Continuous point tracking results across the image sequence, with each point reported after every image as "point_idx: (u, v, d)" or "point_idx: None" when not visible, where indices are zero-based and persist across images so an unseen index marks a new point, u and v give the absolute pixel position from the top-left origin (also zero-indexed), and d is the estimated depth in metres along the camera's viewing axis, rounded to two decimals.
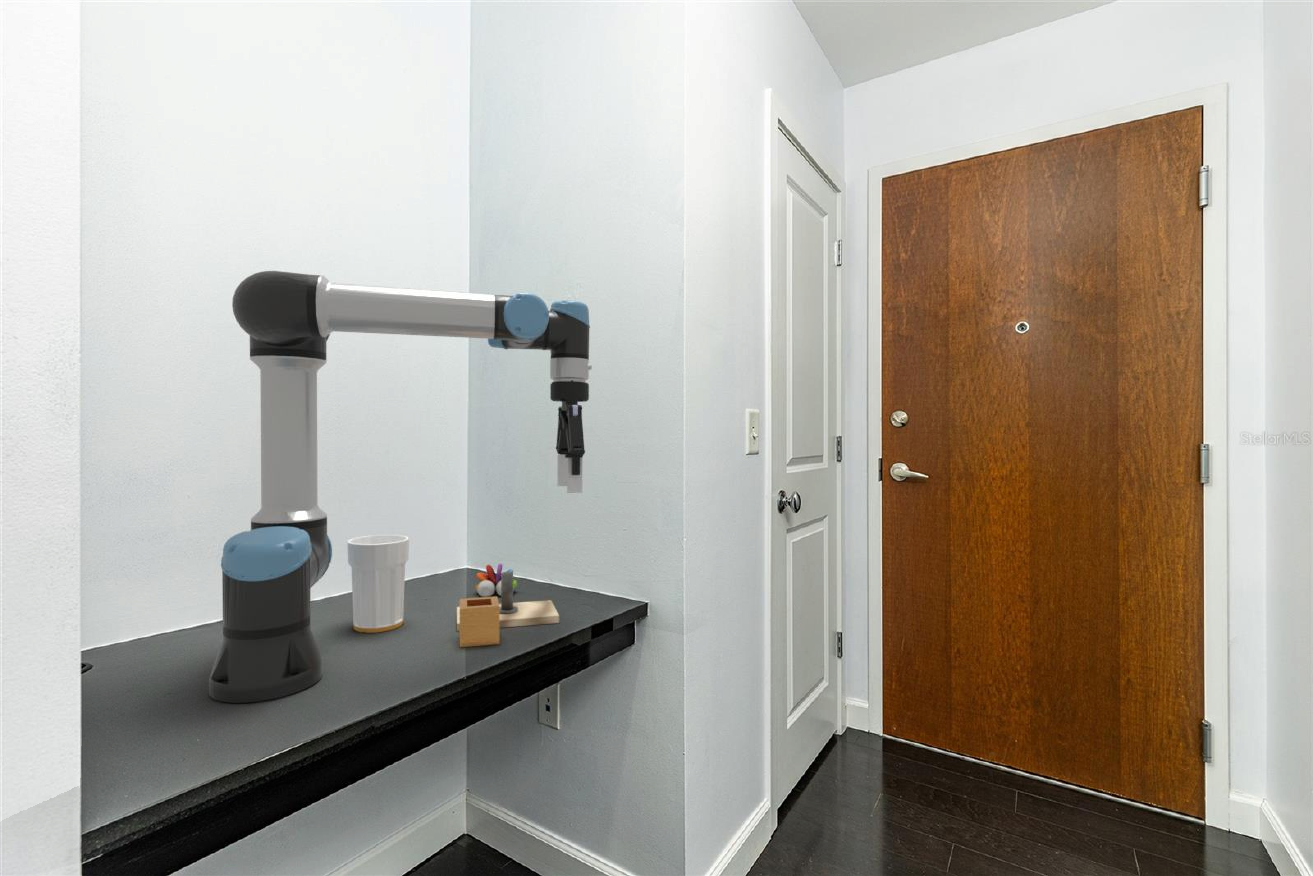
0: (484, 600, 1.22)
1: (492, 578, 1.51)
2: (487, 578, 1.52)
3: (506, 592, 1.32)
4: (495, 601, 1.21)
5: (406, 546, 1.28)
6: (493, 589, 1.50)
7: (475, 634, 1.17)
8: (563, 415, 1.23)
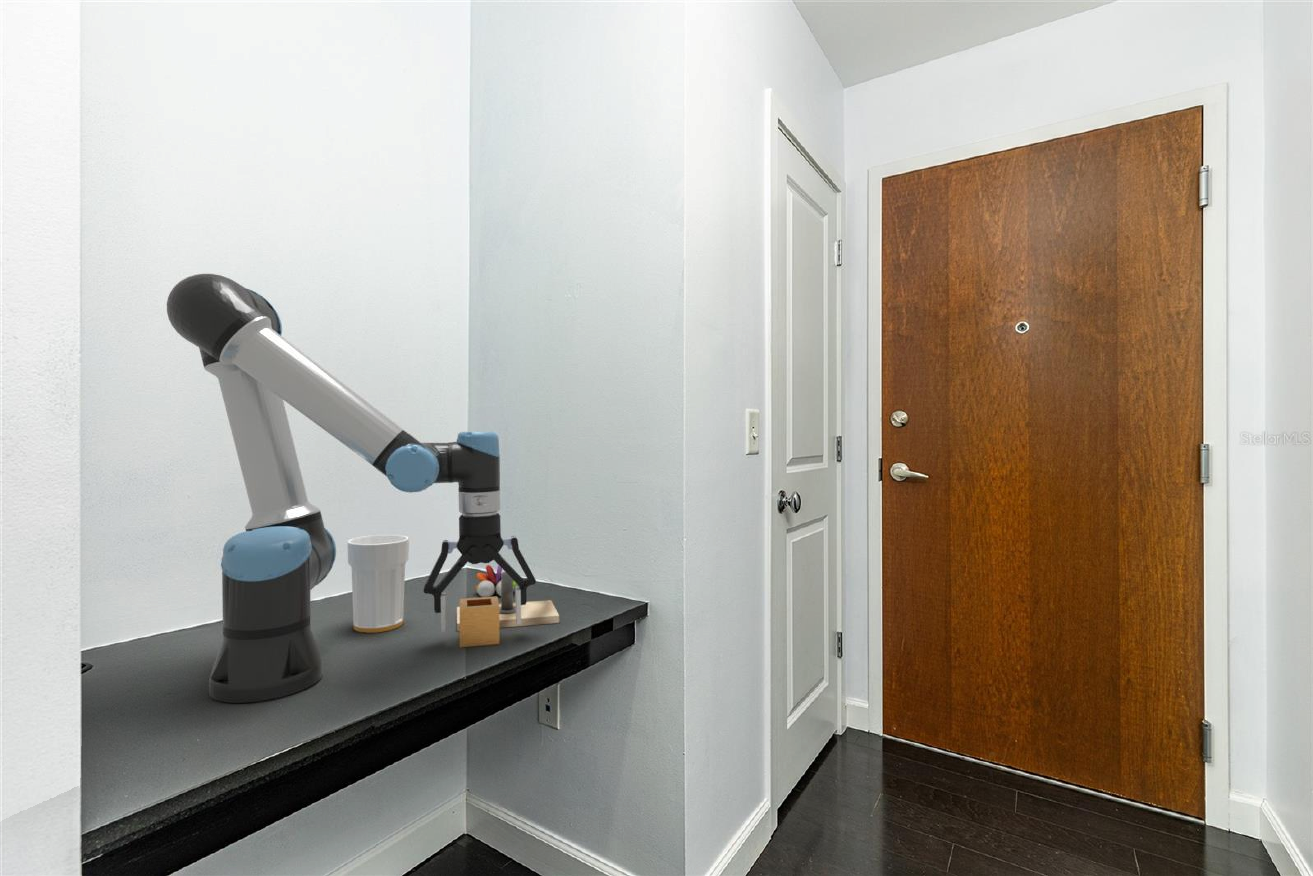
0: (484, 600, 1.22)
1: (492, 578, 1.50)
2: (487, 578, 1.51)
3: (506, 592, 1.32)
4: (495, 601, 1.21)
5: (406, 546, 1.28)
6: (493, 589, 1.49)
7: (475, 634, 1.17)
8: None
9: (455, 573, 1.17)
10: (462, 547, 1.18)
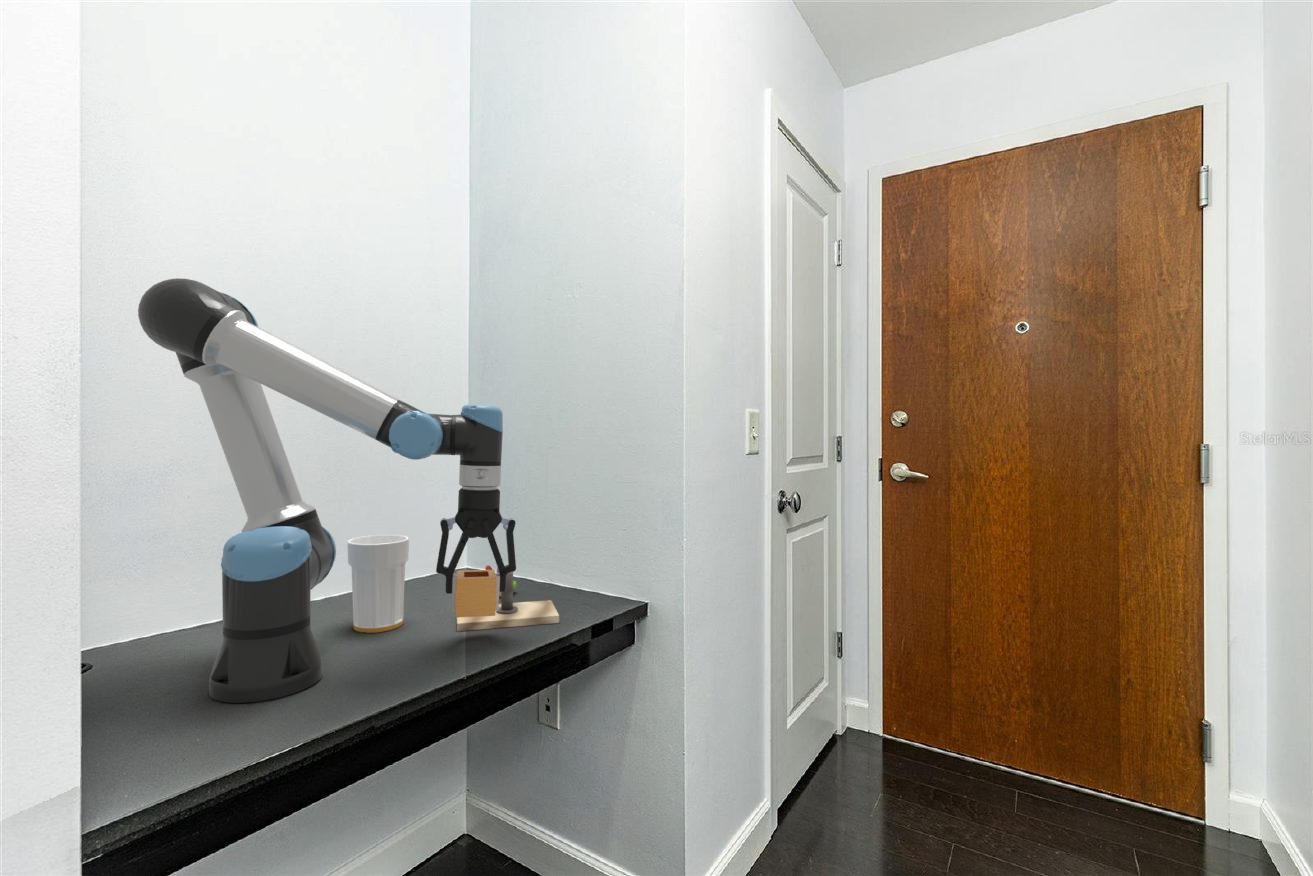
0: (481, 573, 1.22)
1: None
2: None
3: (506, 592, 1.32)
4: (492, 573, 1.21)
5: (406, 546, 1.28)
6: None
7: (471, 605, 1.16)
8: None
9: (461, 550, 1.18)
10: (461, 520, 1.18)
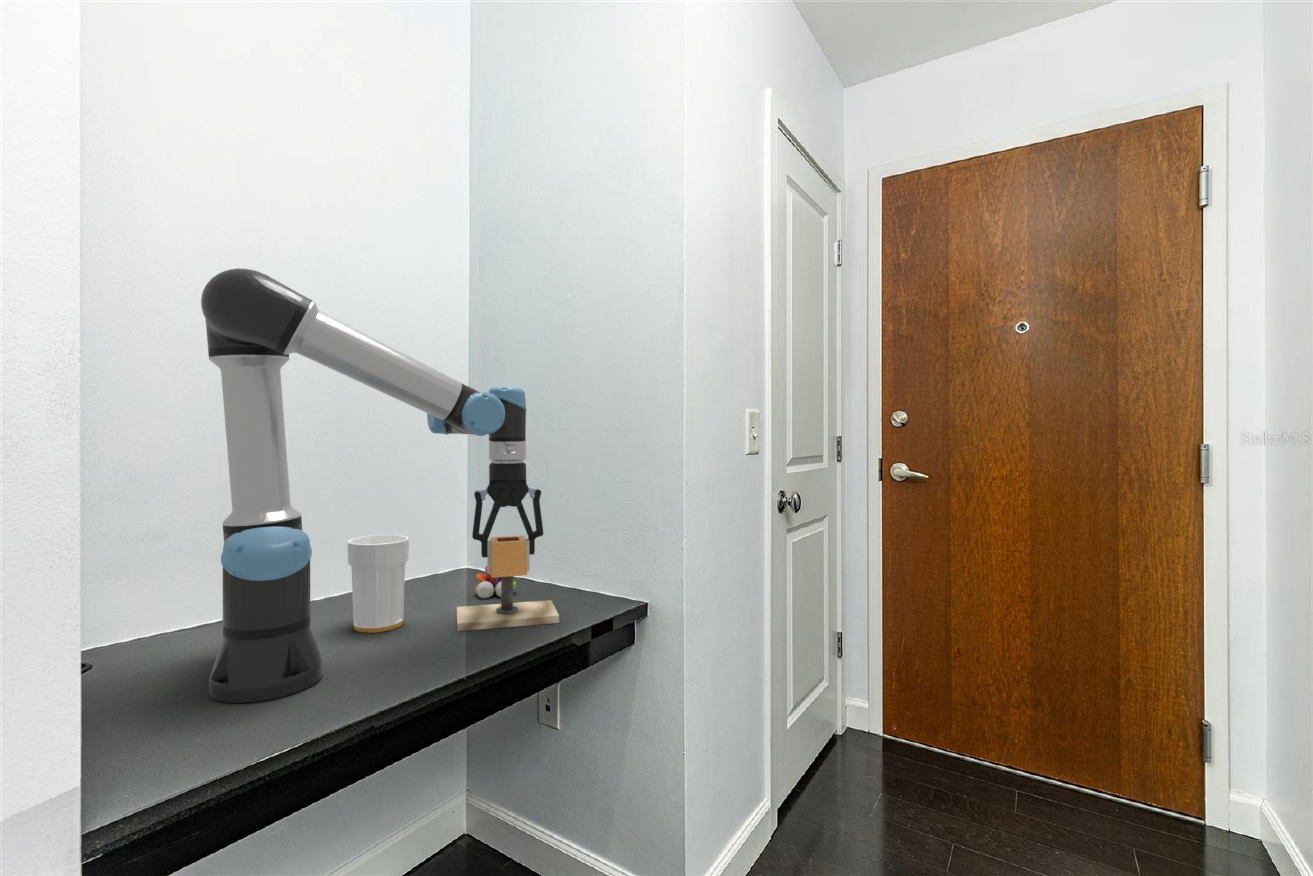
0: (512, 538, 1.36)
1: (491, 579, 1.50)
2: (486, 579, 1.51)
3: (506, 592, 1.32)
4: (522, 538, 1.34)
5: (406, 546, 1.28)
6: (492, 590, 1.49)
7: (505, 566, 1.30)
8: None
9: (494, 518, 1.31)
10: (492, 491, 1.31)
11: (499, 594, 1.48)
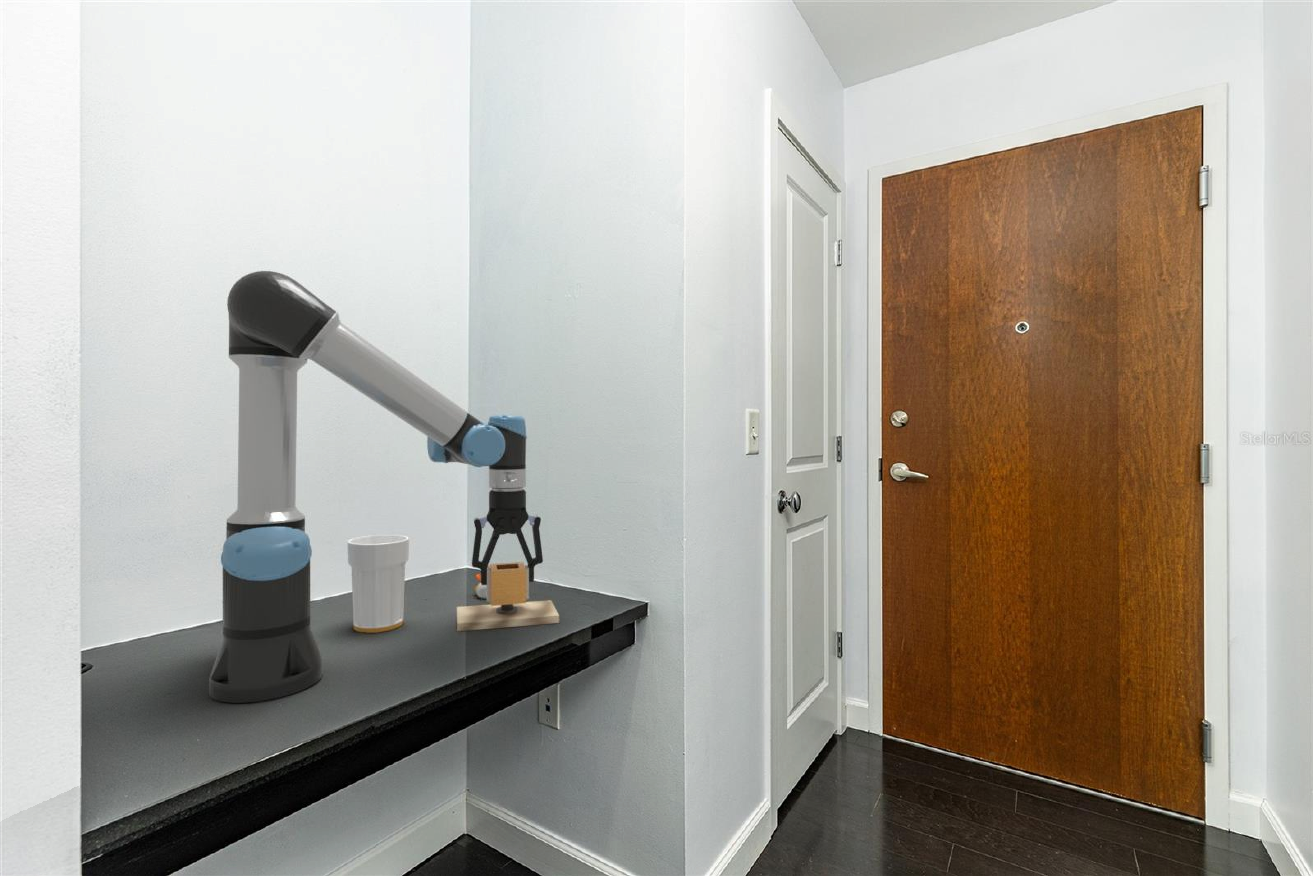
0: (511, 565, 1.36)
1: None
2: None
3: None
4: (522, 565, 1.34)
5: (406, 546, 1.28)
6: None
7: (505, 594, 1.30)
8: None
9: (493, 546, 1.31)
10: (492, 519, 1.31)
11: None
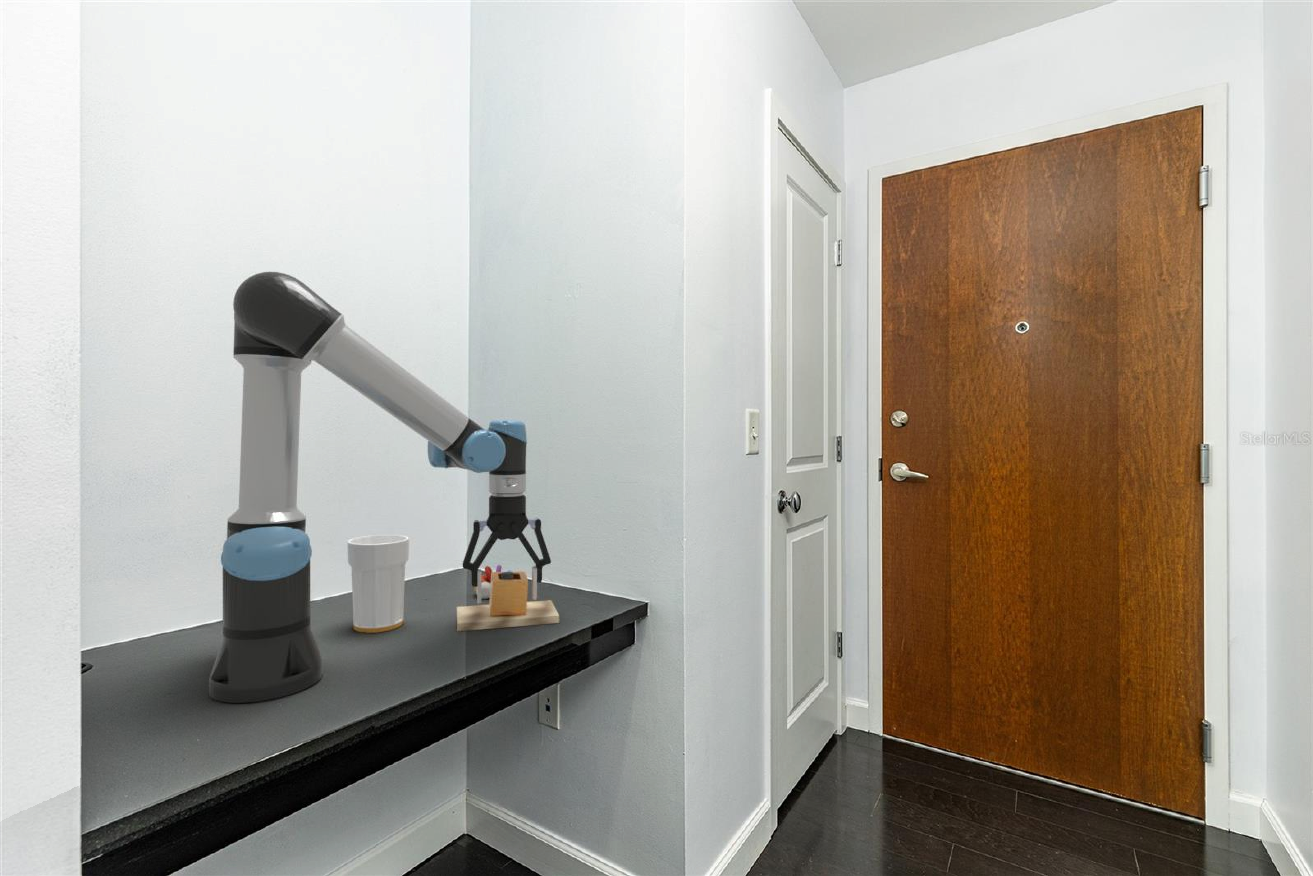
0: (513, 574, 1.35)
1: None
2: (486, 579, 1.50)
3: None
4: (523, 576, 1.34)
5: (406, 546, 1.28)
6: None
7: (505, 604, 1.30)
8: None
9: (488, 549, 1.31)
10: (492, 524, 1.31)
11: None
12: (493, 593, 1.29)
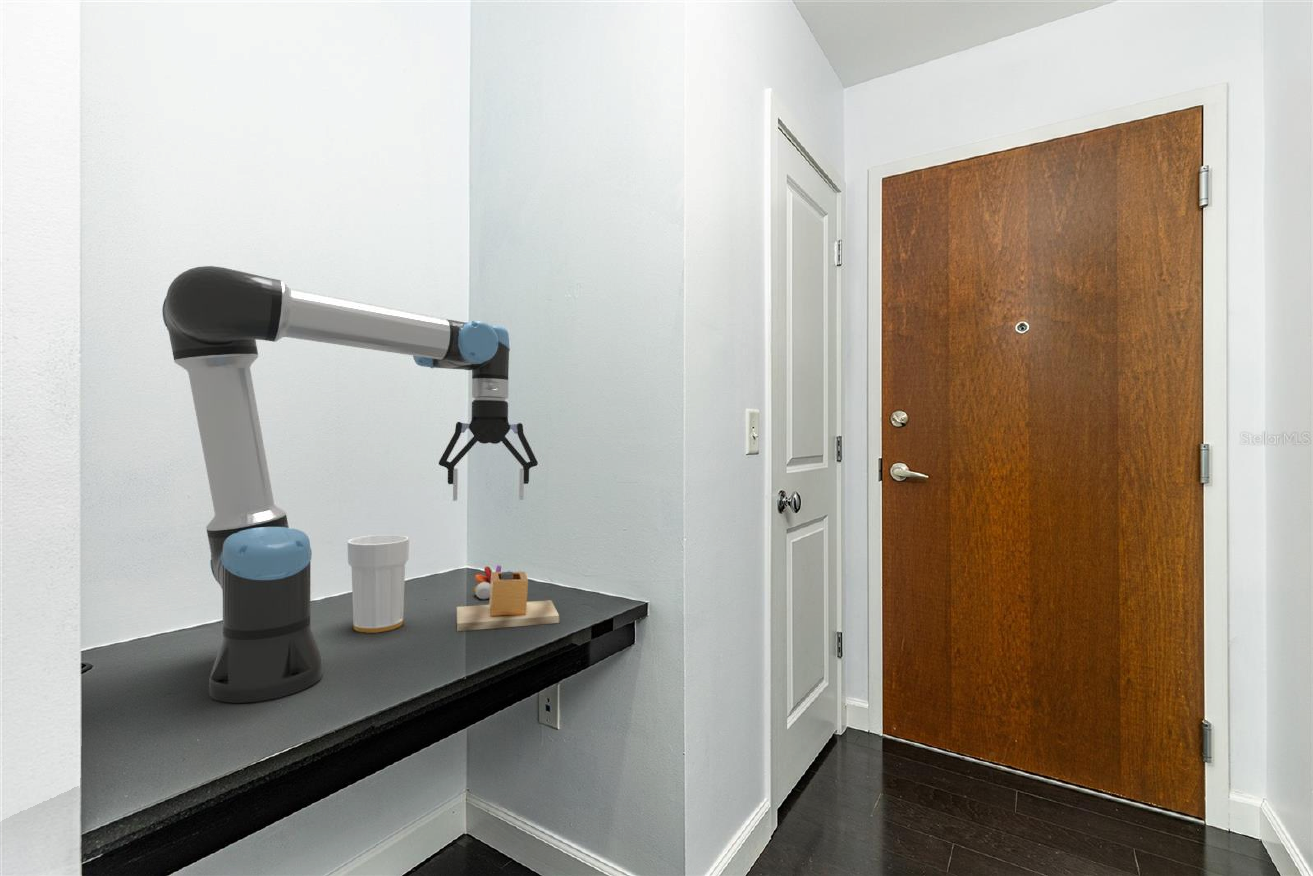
0: (513, 574, 1.35)
1: (490, 580, 1.49)
2: (485, 580, 1.50)
3: None
4: (523, 576, 1.34)
5: (406, 546, 1.28)
6: None
7: (505, 604, 1.30)
8: None
9: (467, 450, 1.33)
10: (473, 427, 1.34)
11: None
12: (493, 593, 1.29)
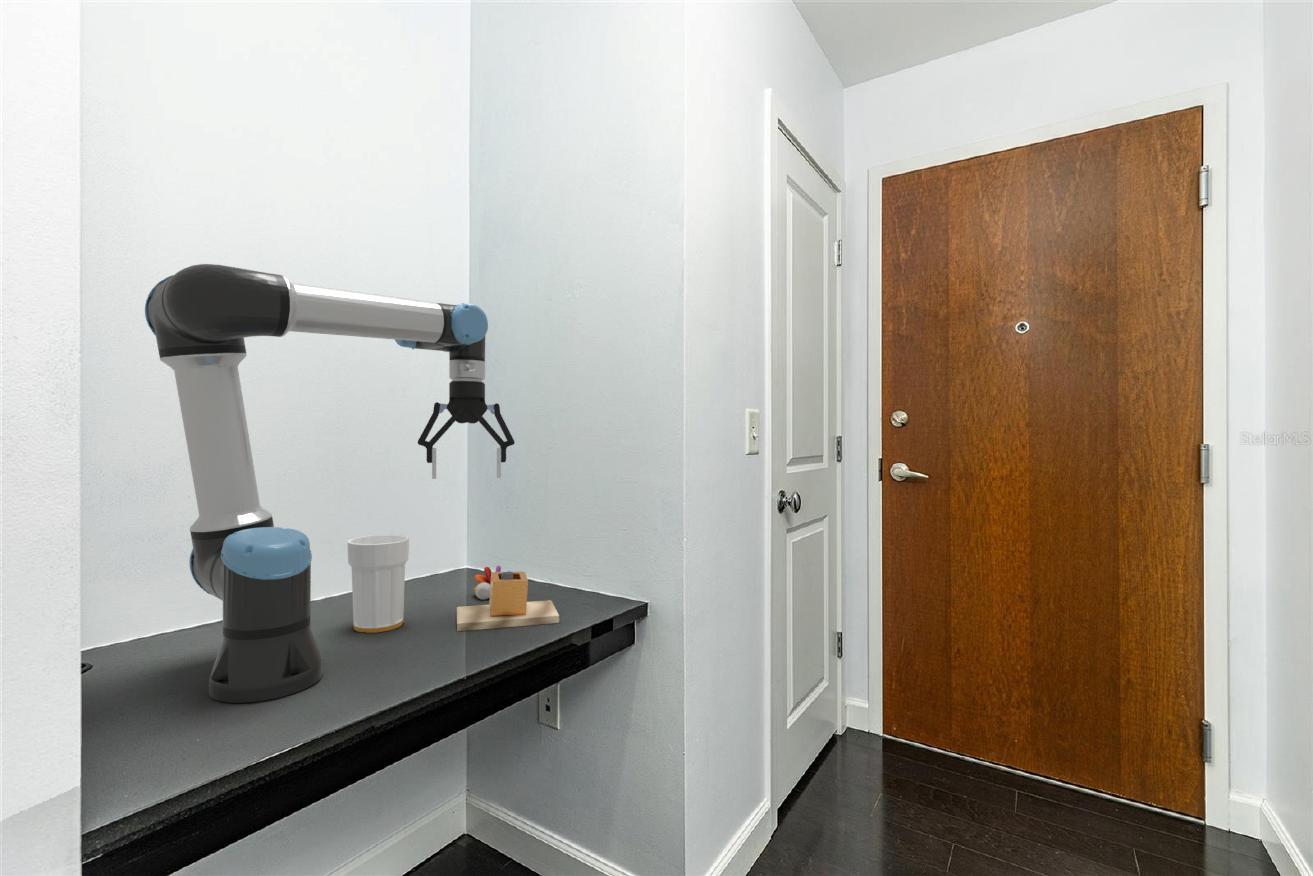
0: (513, 574, 1.35)
1: (490, 580, 1.49)
2: (485, 580, 1.50)
3: None
4: (523, 576, 1.34)
5: (406, 546, 1.28)
6: None
7: (505, 604, 1.30)
8: None
9: (445, 429, 1.37)
10: (451, 408, 1.38)
11: None
12: (493, 593, 1.29)
